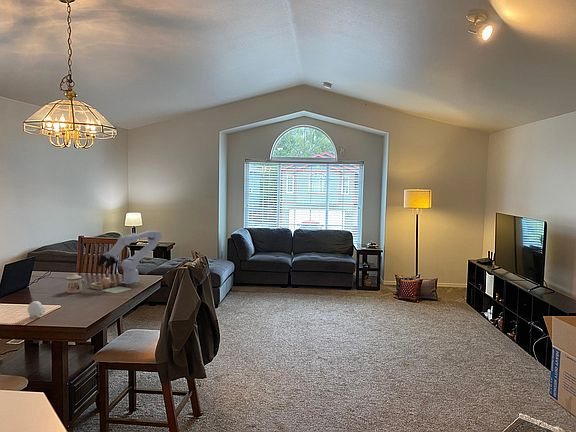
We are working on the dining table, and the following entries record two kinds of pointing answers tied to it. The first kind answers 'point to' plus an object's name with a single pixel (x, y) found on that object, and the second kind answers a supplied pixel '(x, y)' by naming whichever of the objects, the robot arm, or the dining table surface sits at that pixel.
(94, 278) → the dining table surface
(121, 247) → the robot arm
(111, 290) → the felt mat
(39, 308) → the white lumpy piece
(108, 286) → the terracotta jug
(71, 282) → the teacup with lid
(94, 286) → the frame
